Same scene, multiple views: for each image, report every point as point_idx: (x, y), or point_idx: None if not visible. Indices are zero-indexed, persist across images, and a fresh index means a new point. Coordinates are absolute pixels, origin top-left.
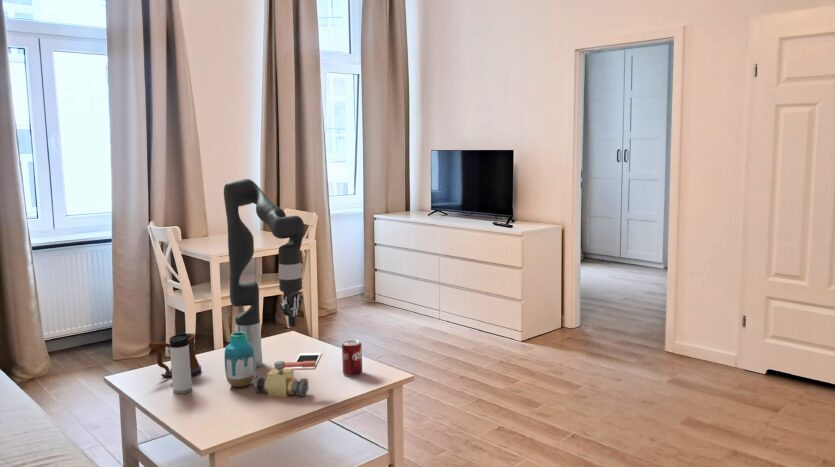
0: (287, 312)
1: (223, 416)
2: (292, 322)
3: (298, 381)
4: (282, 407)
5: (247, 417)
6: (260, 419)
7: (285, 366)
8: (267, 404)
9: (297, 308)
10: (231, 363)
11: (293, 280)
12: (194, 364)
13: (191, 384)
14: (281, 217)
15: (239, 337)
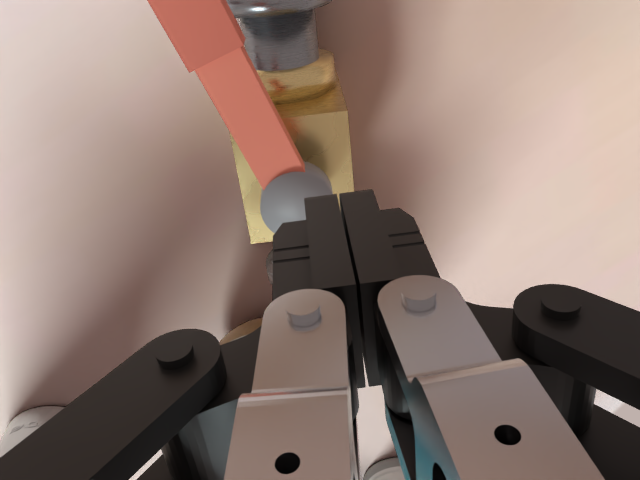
0: (579, 414)
1: (604, 214)
2: (419, 237)
3: (279, 36)
4: (459, 11)
5: (605, 109)
6: (624, 32)
7: (298, 154)
8: (440, 113)
9: (195, 406)
10: None
11: None
12: None
13: (382, 477)
14: None
15: None
